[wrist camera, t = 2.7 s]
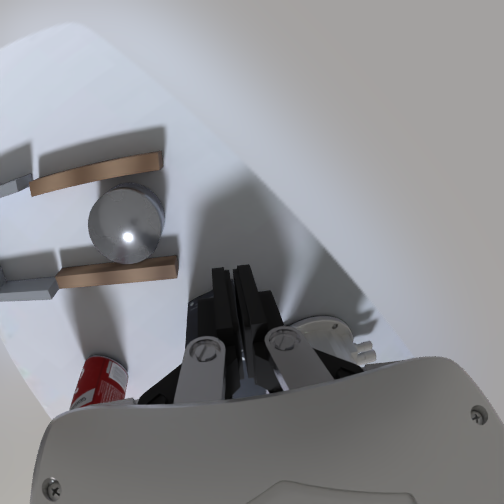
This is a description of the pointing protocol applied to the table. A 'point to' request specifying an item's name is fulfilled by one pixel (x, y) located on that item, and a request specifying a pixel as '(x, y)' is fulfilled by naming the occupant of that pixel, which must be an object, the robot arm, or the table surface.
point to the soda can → (100, 382)
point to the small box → (246, 384)
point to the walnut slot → (112, 271)
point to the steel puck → (126, 223)
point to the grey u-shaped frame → (29, 287)
